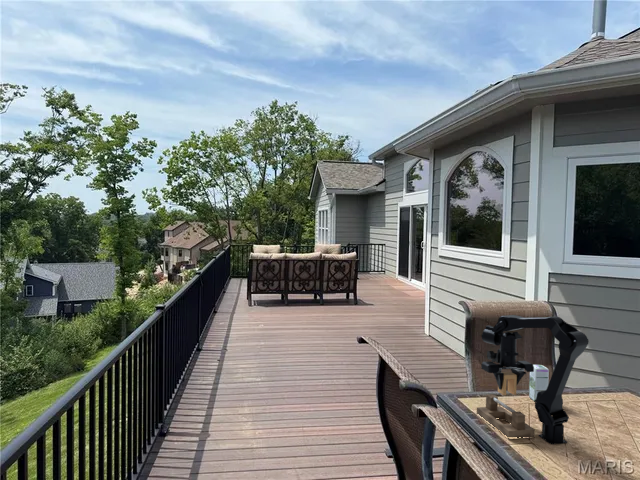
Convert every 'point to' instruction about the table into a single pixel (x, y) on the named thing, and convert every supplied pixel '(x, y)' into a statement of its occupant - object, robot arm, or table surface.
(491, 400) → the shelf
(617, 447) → the table surface
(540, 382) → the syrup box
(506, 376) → the clip
